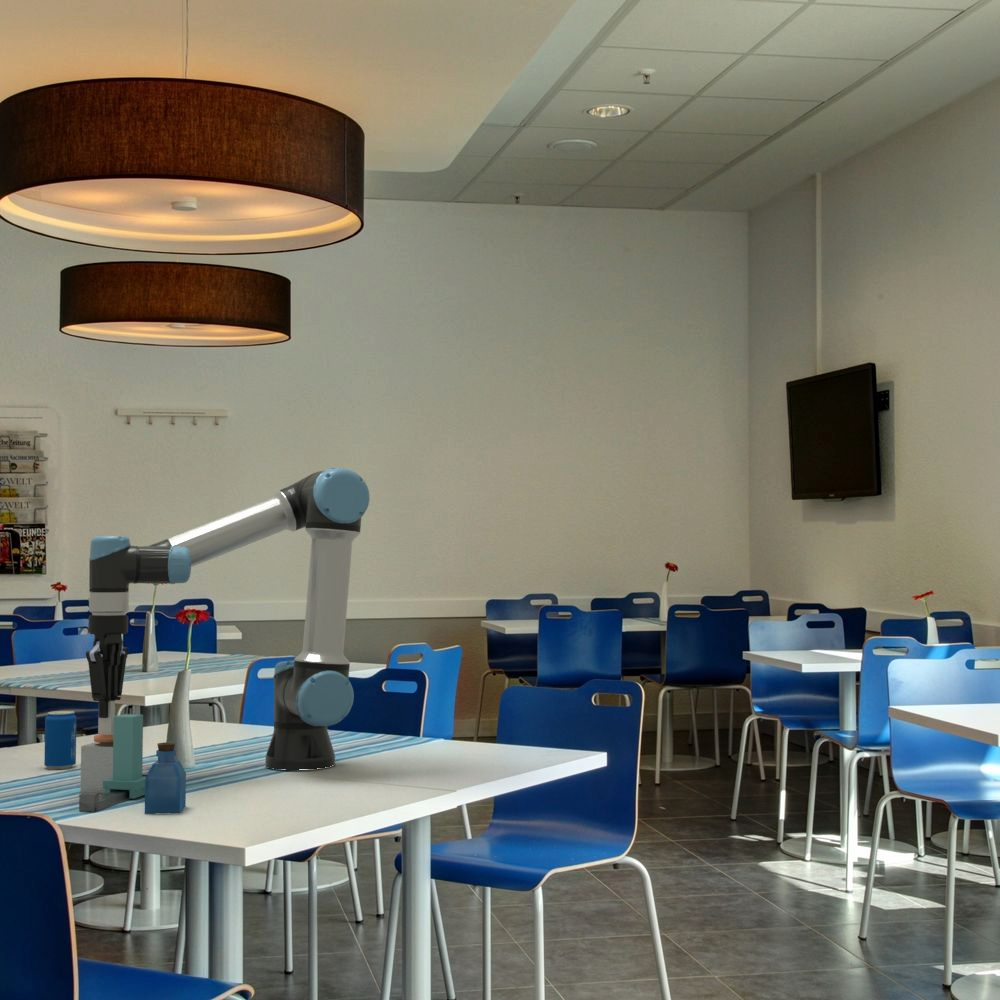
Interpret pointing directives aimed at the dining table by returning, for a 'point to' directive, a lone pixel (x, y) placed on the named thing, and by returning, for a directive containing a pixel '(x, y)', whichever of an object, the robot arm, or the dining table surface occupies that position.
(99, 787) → the button housing
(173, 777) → the perfume bottle
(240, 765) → the dining table surface
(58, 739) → the beverage can
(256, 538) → the robot arm
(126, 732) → the carriage
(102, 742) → the orange push button
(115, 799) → the rail
